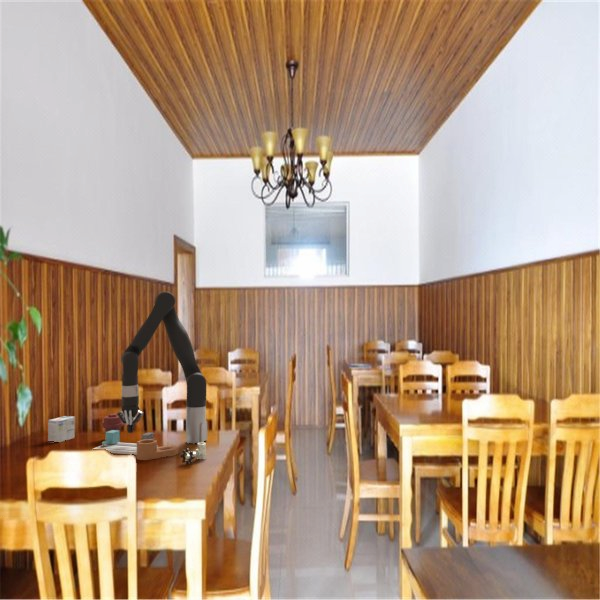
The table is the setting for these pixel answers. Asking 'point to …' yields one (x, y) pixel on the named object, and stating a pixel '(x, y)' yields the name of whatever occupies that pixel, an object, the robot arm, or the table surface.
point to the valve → (194, 453)
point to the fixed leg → (148, 436)
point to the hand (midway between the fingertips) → (130, 432)
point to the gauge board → (120, 448)
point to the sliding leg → (112, 437)
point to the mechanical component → (112, 423)
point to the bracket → (154, 450)
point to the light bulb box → (61, 428)
